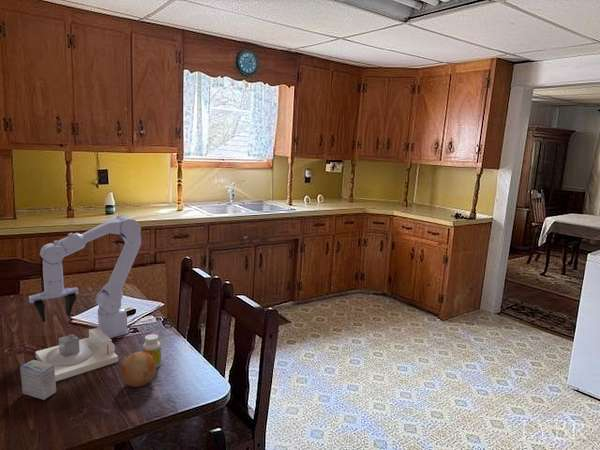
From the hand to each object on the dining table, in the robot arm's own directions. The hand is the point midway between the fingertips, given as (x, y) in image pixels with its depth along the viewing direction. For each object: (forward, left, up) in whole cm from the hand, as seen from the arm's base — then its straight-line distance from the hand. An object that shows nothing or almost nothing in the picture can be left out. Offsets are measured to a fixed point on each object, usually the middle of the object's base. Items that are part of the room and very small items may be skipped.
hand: (56, 318), depth 147 cm
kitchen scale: (-2, +13, -10) cm, 17 cm away
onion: (-11, +39, -11) cm, 42 cm away
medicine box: (+12, +26, -11) cm, 31 cm away
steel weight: (0, +13, -7) cm, 15 cm away
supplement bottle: (-19, +31, -11) cm, 38 cm away
